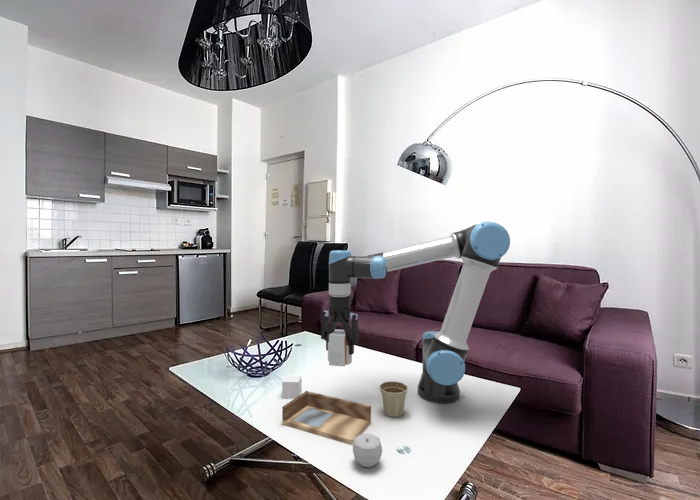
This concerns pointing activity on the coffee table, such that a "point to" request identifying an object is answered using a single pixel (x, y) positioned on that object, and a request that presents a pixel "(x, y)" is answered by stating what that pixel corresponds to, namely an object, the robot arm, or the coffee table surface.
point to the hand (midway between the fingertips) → (339, 361)
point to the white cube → (291, 386)
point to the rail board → (327, 416)
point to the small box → (337, 348)
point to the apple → (367, 449)
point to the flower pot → (393, 397)
